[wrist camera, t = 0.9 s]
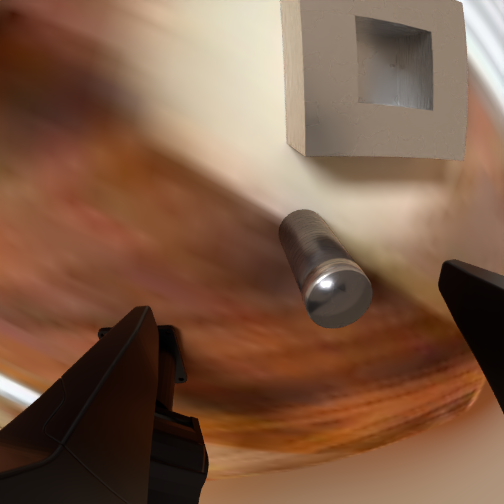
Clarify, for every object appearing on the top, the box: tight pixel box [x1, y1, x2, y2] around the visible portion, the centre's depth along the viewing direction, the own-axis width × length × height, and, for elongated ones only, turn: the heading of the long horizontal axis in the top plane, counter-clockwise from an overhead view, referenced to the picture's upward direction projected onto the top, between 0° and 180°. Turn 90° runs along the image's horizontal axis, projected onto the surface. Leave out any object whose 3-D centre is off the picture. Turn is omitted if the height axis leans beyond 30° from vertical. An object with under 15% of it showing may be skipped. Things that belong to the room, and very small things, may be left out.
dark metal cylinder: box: [279, 210, 373, 328], centre depth 18 cm, size 3×3×8 cm
